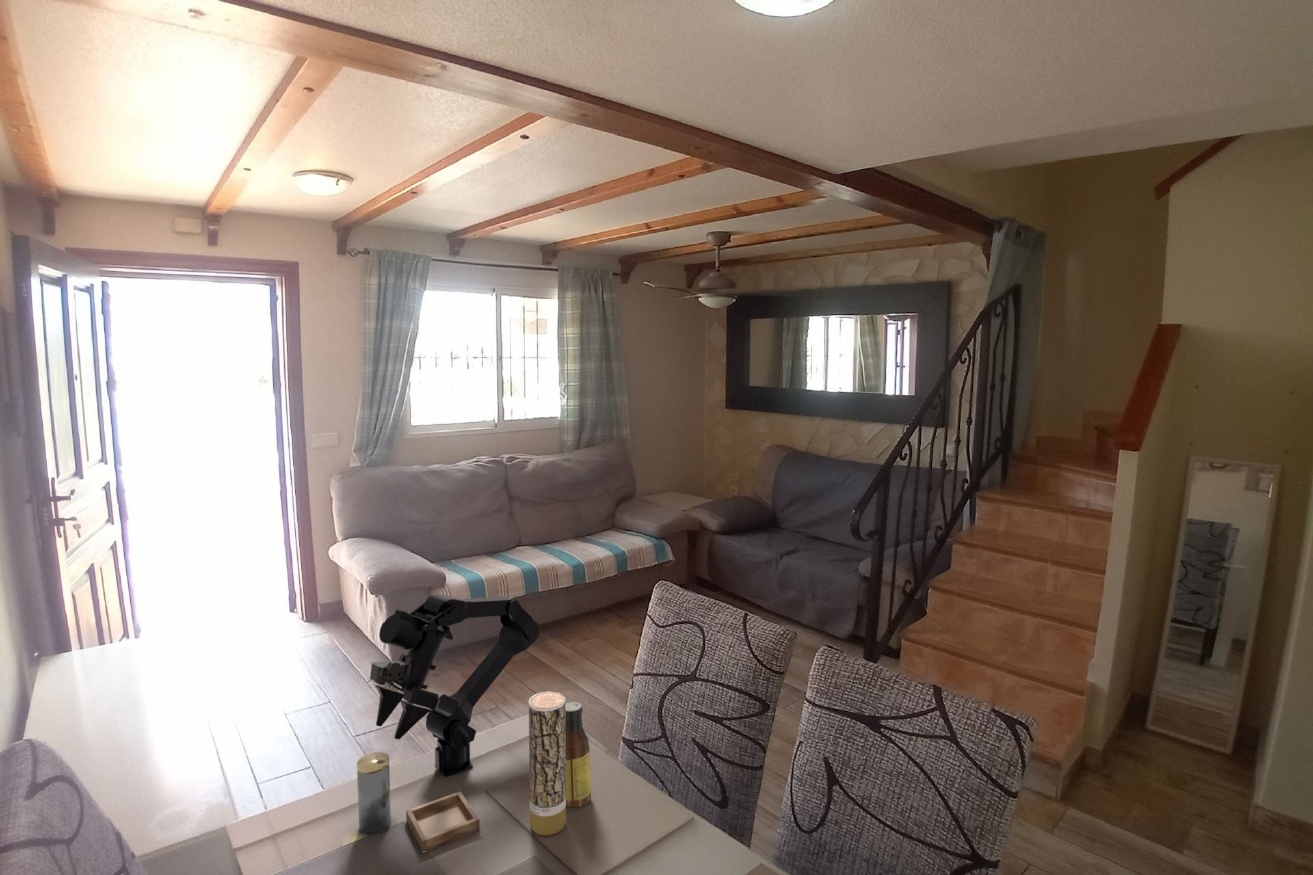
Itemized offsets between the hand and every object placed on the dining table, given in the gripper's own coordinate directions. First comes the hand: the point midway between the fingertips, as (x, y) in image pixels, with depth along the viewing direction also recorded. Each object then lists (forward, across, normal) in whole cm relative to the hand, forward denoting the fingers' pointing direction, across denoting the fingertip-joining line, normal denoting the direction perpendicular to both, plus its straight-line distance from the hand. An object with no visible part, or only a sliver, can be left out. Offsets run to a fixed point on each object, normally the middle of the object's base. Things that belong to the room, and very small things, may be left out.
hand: (387, 732), depth 134 cm
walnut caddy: (+11, +13, +12) cm, 21 cm away
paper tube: (+5, +26, +25) cm, 37 cm away
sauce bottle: (0, +24, +32) cm, 40 cm away
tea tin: (+15, +4, +4) cm, 16 cm away
